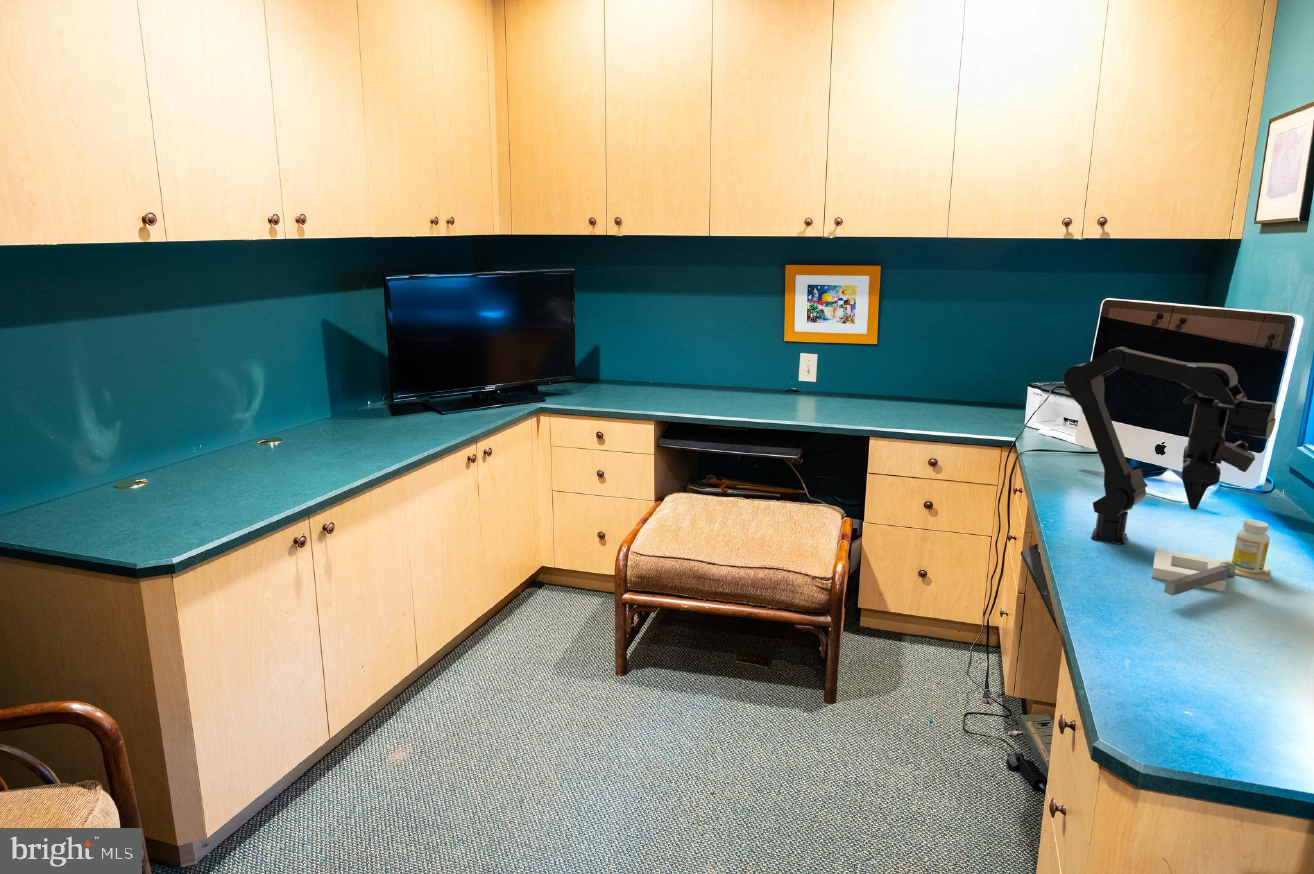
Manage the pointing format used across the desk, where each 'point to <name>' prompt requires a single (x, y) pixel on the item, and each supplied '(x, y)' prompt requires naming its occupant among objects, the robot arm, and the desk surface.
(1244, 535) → the supplement bottle
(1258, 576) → the coaster
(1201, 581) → the latch arm
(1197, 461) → the robot arm
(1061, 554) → the desk surface
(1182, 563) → the socket housing
